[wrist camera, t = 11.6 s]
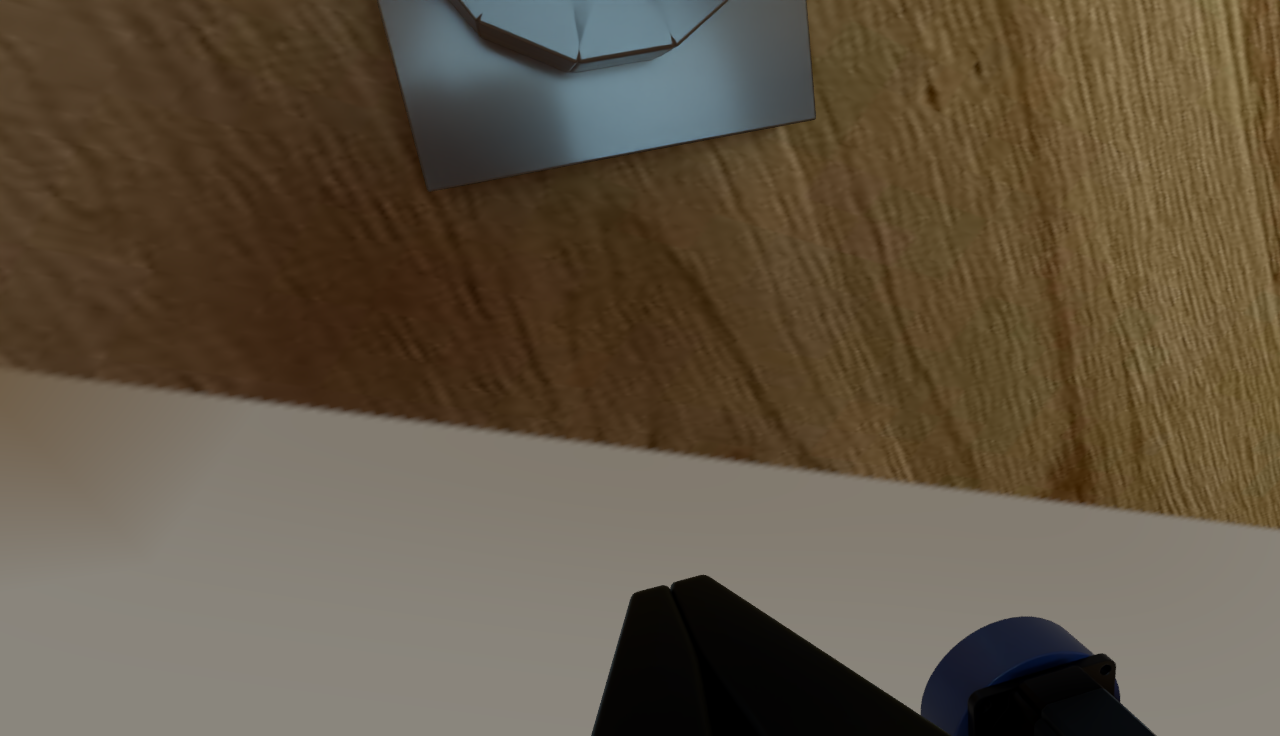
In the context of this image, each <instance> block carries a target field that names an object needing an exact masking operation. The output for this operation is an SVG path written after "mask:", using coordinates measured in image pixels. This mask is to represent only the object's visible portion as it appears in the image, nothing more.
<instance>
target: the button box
mask: <svg viewBox="0 0 1280 736" xmlns="http://www.w3.org/2000/svg"><path fill="white" fill-rule="evenodd" d="M377 3H378V7H379V11H380V14H381V18H382V22H383V26H384V29H385V33H386V37H387V41H388V44H389V48H390V52H391V56H392V60H393V63H394V67H395V71H396V75H397V78H398V82H399V86H400V90H401V93H402V97H403V101H404V105H405V108H406V112H407V116H408V120H409V123H410V127H411V131H412V135H413V138H414V142H415V146H416V150H417V154H418V157H419V161H420V165H421V169H422V172H423V176H424V180H425V184H426V187H427V190H428V191H429V192H431V191H437V190H442V189H447V188H453V187H458V186H463V185H469V184H474V183H479V182H485V181H490V180H495V179H501V178H506V177H511V176H517V175H522V174H527V173H533V172H538V171H543V170H549V169H554V168H559V167H565V166H570V165H575V164H581V163H586V162H591V161H597V160H602V159H607V158H613V157H618V156H624V155H629V154H634V153H640V152H645V151H650V150H656V149H661V148H666V147H672V146H677V145H682V144H688V143H693V142H698V141H704V140H709V139H714V138H720V137H725V136H730V135H736V134H741V133H746V132H752V131H757V130H762V129H768V128H773V127H778V126H784V125H789V124H794V123H800V122H805V121H811V120H815V119H816V111H815V99H814V86H813V74H812V62H811V50H810V38H809V26H808V14H807V2H806V0H377Z"/></svg>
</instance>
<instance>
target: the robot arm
mask: <svg viewBox="0 0 1280 736" xmlns="http://www.w3.org/2000/svg"><path fill="white" fill-rule="evenodd" d="M1115 675H1116V663H1115V662H1114V661H1113V660H1112V659H1111V658H1110V657H1108V656H1107V655H1106V654H1103V653H1100V654H1096V655H1092V656H1089V657H1086V658H1082V659H1079V660H1076V661H1072V662H1069V663H1066V664H1062V665H1059V666H1056V667H1052V668H1049V669H1046V670H1042V671H1039V672H1036V673H1032V674H1029V675H1026V676H1022V677H1019V678H1015V679H1012V680H1009V681H1005V682H1002V683H999V684H995V685H992V686H989V687H985V688H982V689H979V690H977V691H974V692H973V693H972V694H971V695H970V697H969V698H968V736H1156V735H1155V734H1154V733H1153V732H1152V731H1151V730H1150V729H1149V728H1147V727H1146V726H1145V725H1144V724H1143V723H1142V722H1141V721H1140V720H1139V719H1138V718H1136V717H1135V716H1134V715H1133V714H1132V713H1131V712H1130V711H1129V710H1128V709H1126V708H1125V707H1124V706H1123V705H1122V704H1121V703H1120V702H1119V701H1118V700H1117V699H1115V698H1114V691H1115V677H1116V676H1115ZM591 736H951V735H950V734H948V733H947V732H945V731H944V730H942V729H941V728H939V727H938V726H936V725H935V724H933V723H932V722H930V721H928V720H927V719H925V718H924V717H922V716H921V715H919V714H918V713H916V712H914V711H913V710H912V709H910V708H909V707H907V706H906V705H904V704H903V703H901V702H900V701H898V700H896V699H895V698H893V697H892V696H890V695H889V694H887V693H886V692H884V691H883V690H881V689H880V688H878V687H877V686H875V685H874V684H872V683H870V682H869V681H867V680H866V679H864V678H863V677H861V676H860V675H858V674H857V673H855V672H854V671H852V670H851V669H849V668H848V667H846V666H845V665H843V664H842V663H840V662H839V661H837V660H836V659H834V658H832V657H831V656H829V655H828V654H826V653H825V652H823V651H822V650H820V649H819V648H817V647H816V646H814V645H813V644H811V643H810V642H808V641H807V640H805V639H803V638H802V637H800V636H799V635H797V634H796V633H794V632H793V631H791V630H790V629H788V628H786V627H785V626H783V625H782V624H781V623H779V622H778V621H776V620H775V619H773V618H771V617H770V616H768V615H767V614H765V613H764V612H762V611H761V610H759V609H758V608H756V607H755V606H753V605H752V604H750V603H749V602H747V601H746V600H744V599H742V598H741V597H739V596H738V595H736V594H735V593H733V592H732V591H730V590H729V589H727V588H726V587H724V586H723V585H721V584H720V583H718V582H717V581H715V580H714V579H712V578H710V577H709V576H706V575H699V576H696V577H692V578H688V579H684V580H680V581H677V582H674V583H673V584H672V585H671V589H669V587H667V586H664V585H662V586H658V587H654V588H650V589H646V590H642V591H639V592H636V593H634V594H633V595H632V597H631V599H630V602H629V606H628V609H627V613H626V617H625V620H624V623H623V627H622V630H621V634H620V637H619V641H618V644H617V647H616V651H615V654H614V658H613V661H612V665H611V669H610V672H609V675H608V679H607V682H606V686H605V689H604V693H603V696H602V700H601V703H600V707H599V710H598V714H597V717H596V721H595V724H594V728H593V731H592V735H591Z"/></svg>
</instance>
